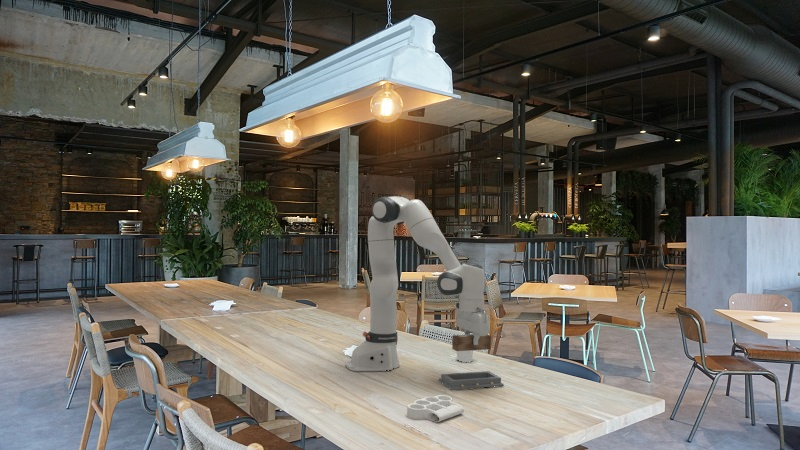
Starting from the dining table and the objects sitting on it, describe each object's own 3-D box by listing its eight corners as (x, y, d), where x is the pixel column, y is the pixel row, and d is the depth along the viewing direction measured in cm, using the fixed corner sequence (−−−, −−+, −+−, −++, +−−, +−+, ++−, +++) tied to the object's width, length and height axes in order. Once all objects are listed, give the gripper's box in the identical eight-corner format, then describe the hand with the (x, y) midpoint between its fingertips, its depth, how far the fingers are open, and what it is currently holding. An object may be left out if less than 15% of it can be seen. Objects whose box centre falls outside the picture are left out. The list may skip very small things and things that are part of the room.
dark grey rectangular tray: (451, 390, 181) (451, 382, 181) (438, 381, 192) (438, 373, 192) (503, 386, 187) (503, 378, 187) (488, 377, 199) (488, 370, 199)
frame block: (456, 351, 186) (457, 337, 186) (452, 348, 190) (452, 334, 190) (490, 349, 190) (490, 335, 191) (485, 346, 194) (485, 333, 194)
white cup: (473, 359, 229) (473, 336, 229) (473, 363, 221) (474, 340, 221) (455, 358, 230) (456, 336, 230) (455, 362, 222) (456, 339, 222)
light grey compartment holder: (432, 427, 147) (396, 414, 157) (470, 413, 159) (435, 401, 170) (432, 416, 147) (397, 403, 157) (470, 402, 159) (435, 391, 170)
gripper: (493, 309, 182) (493, 348, 181) (467, 302, 201) (467, 337, 201) (478, 310, 180) (477, 349, 179) (453, 302, 199) (452, 338, 199)
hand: (471, 343), depth 190 cm, fingers closed on frame block, 4 cm apart
